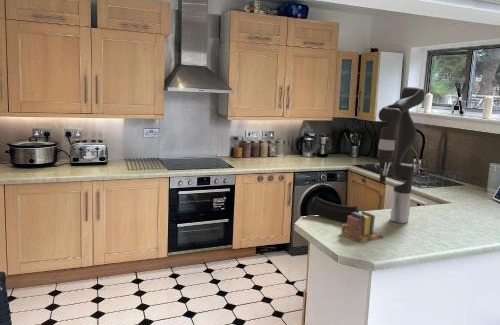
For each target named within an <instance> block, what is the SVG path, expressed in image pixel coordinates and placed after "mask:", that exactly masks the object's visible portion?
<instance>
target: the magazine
mask: <svg viewBox="0 0 500 325" xmlns="http://www.w3.org/2000/svg"><path fill="white" fill-rule="evenodd" d="M307 211H308V212H310V213H312V214H313V216H315V215H316V216H319V217H321V218H323V219H327V220H330V221H334V222H339V223H343V224H347V216H351V215H352V213H353V212H357V213H359V212H360V211H359V209H358V205H354V206H351V205H349V206H348V205H345V204H344V205H343V204H336V203H333V202H330V201H327V200H325V199H322V198H320V197H318V196H315V197H313V199H312V201H311V202H310V203H309V204H308V208H307Z"/></svg>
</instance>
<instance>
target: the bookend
mask: <svg viewBox="0 0 500 325" xmlns="http://www.w3.org/2000/svg"><path fill="white" fill-rule="evenodd" d="M360 214H365V215H367V216H370V217H371V223H370V232H369V234H370V235H373V230H374V228H375V227H374V226H375V220H376V219H375V218H376V216H375V214H372V213H370V212H367V211H365V210H361V212H360Z"/></svg>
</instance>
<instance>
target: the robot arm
mask: <svg viewBox="0 0 500 325" xmlns="http://www.w3.org/2000/svg"><path fill="white" fill-rule="evenodd" d="M425 96H426V94H425V90H424V88H422V87H418V86H417V87H414V86H411V87H410V86H405V87H403V89H402V91H401V94H400V99H397V100H396V101H394V102H393V103H392V104H389V105H386V106H384V107H382V108H381V109H379V111H378V119H379V121H380V122H383V123H390V125H389V126H385V127H382V128H381V129H380V137H379V142H378V149H377V158H378V159H377V163H374V164H373V167H374V169H375V171H376V173H377V174H378V175H379V183H382V184H385V183H386V180H387V175H390V174H391V172H392V177H393V179H396V180H401V181H405V182H404V183H401V184H396V185H394V186H393V192H392V201H391V208H390V209H391V210H390V217H389V220H390V221H391V222H394V223H398V224H406V223H407V222H409V220H410V219H409V218H410V209H411V204H410V203H411V202H410V201H411V196H412V195H411V194H412V193H411V192H412V186H413V179H414V174H415V166H414V165H413V164H410V163H403V162H402V160H403V157H404V156H405V154H406V153H407V152H408V151H409V150H410V148H411V147H412V146H413V145H414V143H415V142H416V136H417V135H416V134H417V127H416V125H415V122H414V119H413V118H412V116H411V114H410V109H412V108H415V107H416V106H419V105H421V104H423V102H424V100H425ZM397 129H398V131H397ZM396 134H397V139H396ZM395 139H396V140H397V143H396V140H395ZM395 145H396V151H395ZM394 154H395V158H394ZM392 159H394V162H393V160H392Z"/></svg>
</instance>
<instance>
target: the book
mask: <svg viewBox="0 0 500 325" xmlns="http://www.w3.org/2000/svg"><path fill="white" fill-rule="evenodd" d="M362 215H364V225H363V235H368V234H369V232H370V223H371V217H370V216H367V215H365V214H362Z"/></svg>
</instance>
